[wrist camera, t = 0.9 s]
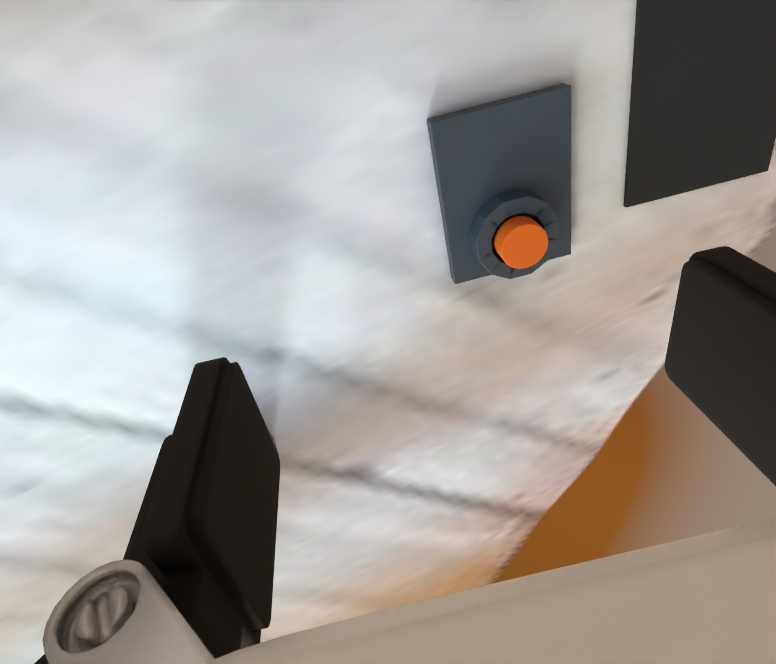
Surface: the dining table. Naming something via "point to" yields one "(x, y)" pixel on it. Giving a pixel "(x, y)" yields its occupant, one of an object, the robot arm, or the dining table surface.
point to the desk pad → (700, 95)
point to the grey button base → (503, 177)
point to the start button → (521, 242)
